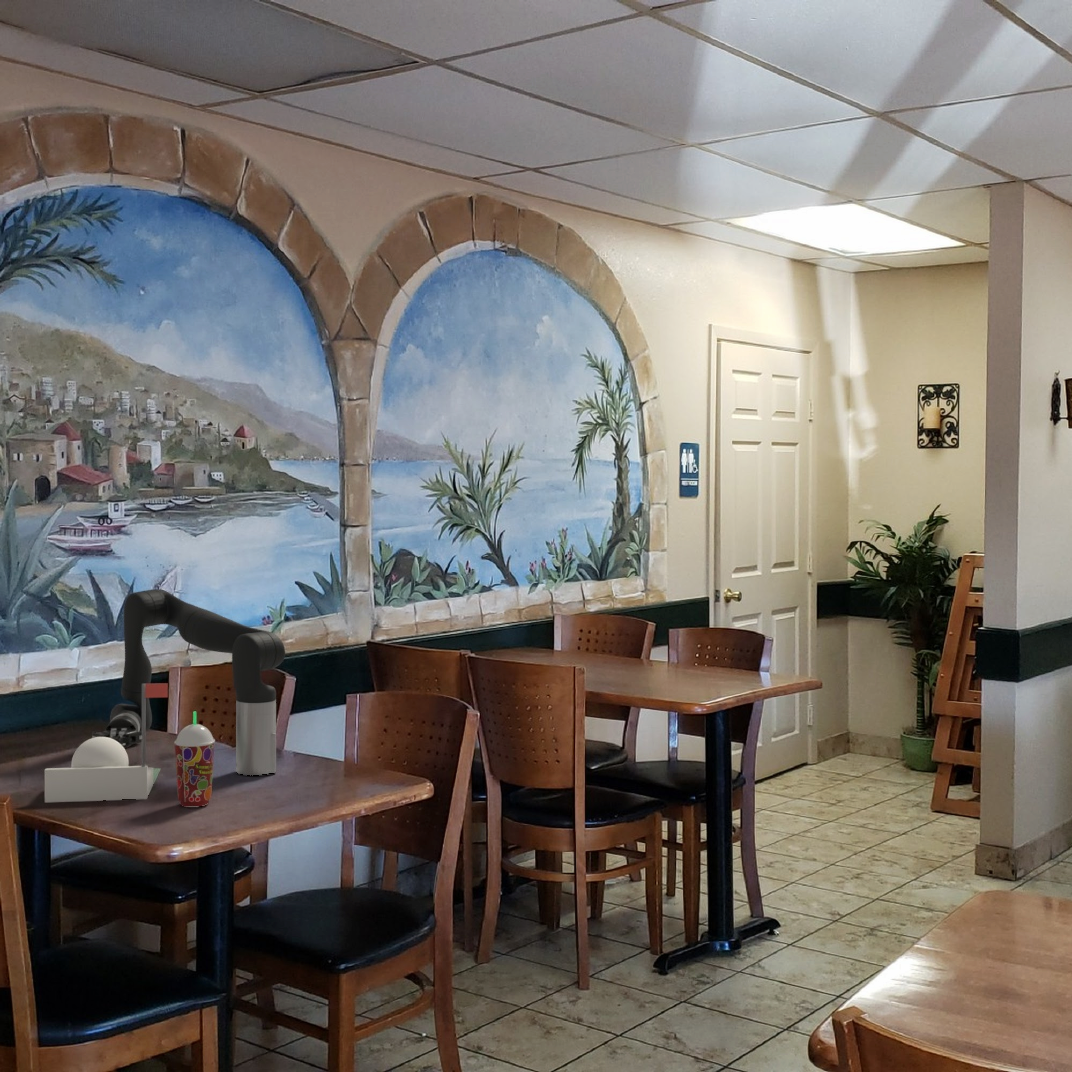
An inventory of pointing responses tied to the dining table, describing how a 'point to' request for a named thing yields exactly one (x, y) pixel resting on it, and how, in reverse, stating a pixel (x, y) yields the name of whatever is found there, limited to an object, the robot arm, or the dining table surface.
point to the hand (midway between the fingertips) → (114, 744)
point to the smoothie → (194, 764)
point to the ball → (100, 754)
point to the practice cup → (106, 772)
